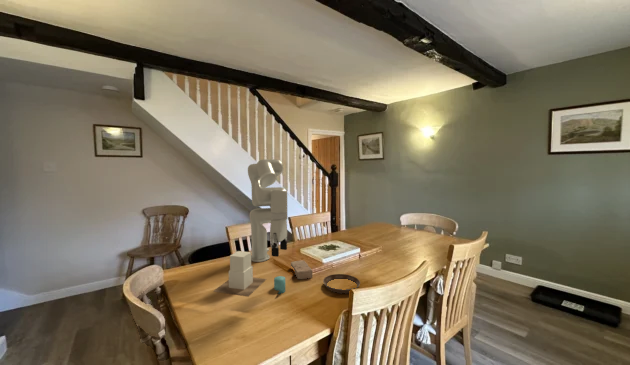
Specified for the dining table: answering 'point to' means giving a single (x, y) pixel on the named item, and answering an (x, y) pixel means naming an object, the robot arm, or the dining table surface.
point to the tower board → (247, 292)
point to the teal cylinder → (279, 284)
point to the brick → (302, 269)
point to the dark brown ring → (340, 276)
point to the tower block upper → (240, 261)
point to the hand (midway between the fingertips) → (279, 252)
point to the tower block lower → (241, 279)
